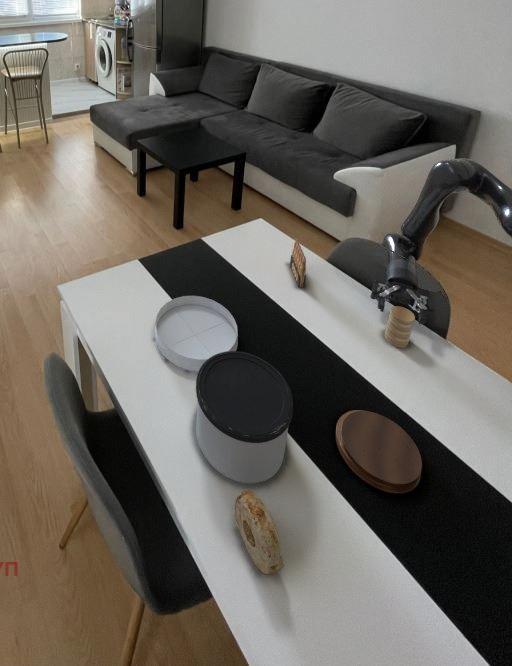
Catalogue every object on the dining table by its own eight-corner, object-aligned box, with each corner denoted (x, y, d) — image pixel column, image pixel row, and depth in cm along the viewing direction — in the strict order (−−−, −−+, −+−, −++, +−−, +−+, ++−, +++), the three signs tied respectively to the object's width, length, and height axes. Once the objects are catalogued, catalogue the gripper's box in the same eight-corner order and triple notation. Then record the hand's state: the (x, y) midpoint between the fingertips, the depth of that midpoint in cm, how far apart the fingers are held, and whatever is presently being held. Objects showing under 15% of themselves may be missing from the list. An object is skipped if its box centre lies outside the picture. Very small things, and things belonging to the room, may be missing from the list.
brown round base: (418, 440, 90) (422, 429, 88) (421, 514, 78) (425, 502, 77) (338, 405, 97) (341, 395, 96) (330, 468, 86) (332, 456, 84)
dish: (183, 388, 103) (183, 374, 101) (140, 324, 122) (140, 311, 120) (255, 353, 111) (256, 339, 109) (205, 298, 130) (205, 285, 128)
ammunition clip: (289, 266, 141) (293, 236, 137) (295, 267, 141) (299, 236, 137) (297, 289, 132) (302, 258, 127) (304, 290, 131) (308, 258, 127)
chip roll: (407, 338, 113) (414, 310, 110) (407, 353, 109) (415, 324, 106) (384, 330, 116) (391, 303, 112) (383, 344, 112) (390, 316, 108)
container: (191, 394, 102) (192, 348, 96) (273, 399, 100) (279, 352, 94) (198, 484, 84) (200, 434, 79) (297, 492, 82) (306, 441, 77)
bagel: (228, 518, 79) (231, 484, 75) (245, 509, 80) (249, 476, 76) (264, 590, 70) (269, 556, 66) (283, 580, 71) (289, 546, 67)
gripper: (375, 259, 126) (372, 294, 113) (435, 275, 119) (438, 314, 106) (371, 280, 129) (367, 316, 116) (429, 296, 121) (431, 337, 109)
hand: (401, 315), depth 111 cm, fingers open, 8 cm apart
